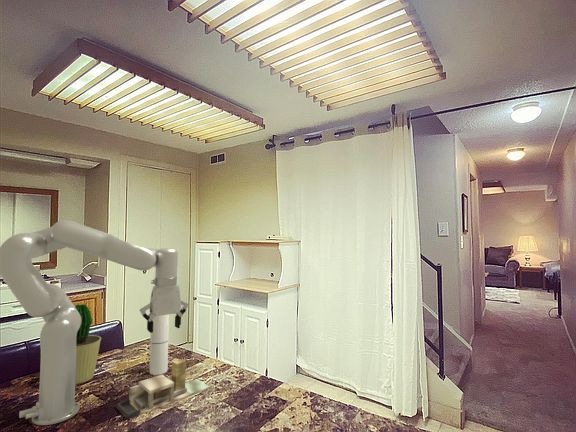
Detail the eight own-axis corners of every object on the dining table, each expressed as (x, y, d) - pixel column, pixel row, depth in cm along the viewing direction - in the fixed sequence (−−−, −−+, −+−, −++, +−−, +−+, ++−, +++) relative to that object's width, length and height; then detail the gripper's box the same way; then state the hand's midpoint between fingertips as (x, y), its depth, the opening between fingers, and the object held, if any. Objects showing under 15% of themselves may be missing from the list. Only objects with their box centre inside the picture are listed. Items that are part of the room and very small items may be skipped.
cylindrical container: (155, 376, 135) (157, 314, 136) (146, 371, 139) (147, 311, 141) (170, 370, 141) (172, 311, 142) (161, 366, 145) (163, 308, 146)
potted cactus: (108, 371, 140) (110, 299, 141) (81, 388, 124) (85, 307, 126) (74, 369, 141) (77, 298, 143) (44, 385, 126) (47, 306, 128)
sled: (140, 408, 109) (142, 375, 109) (134, 402, 113) (135, 370, 113) (186, 391, 120) (187, 361, 121) (179, 386, 124) (180, 357, 125)
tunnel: (127, 419, 104) (127, 398, 104) (116, 408, 110) (117, 388, 111) (210, 388, 125) (210, 370, 125) (196, 380, 132) (197, 363, 132)
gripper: (144, 285, 113) (142, 336, 112) (192, 281, 124) (191, 328, 123) (138, 282, 119) (136, 331, 118) (184, 279, 130) (183, 323, 129)
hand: (164, 329), depth 120 cm, fingers open, 9 cm apart
